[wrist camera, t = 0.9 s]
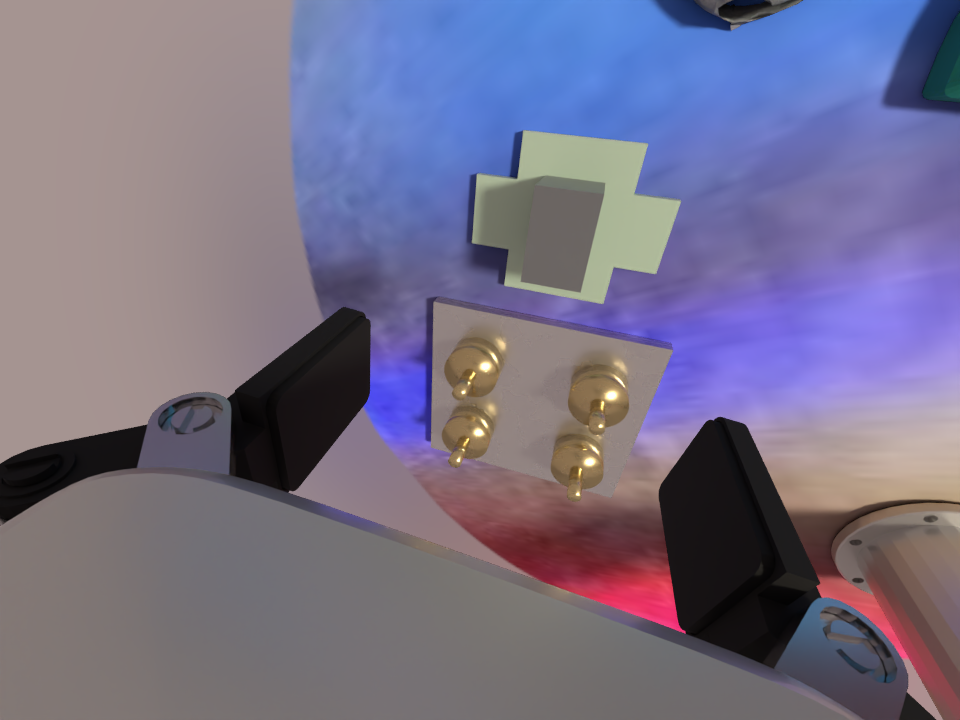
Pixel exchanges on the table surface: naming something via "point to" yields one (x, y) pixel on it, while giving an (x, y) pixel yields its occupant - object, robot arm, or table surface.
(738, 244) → the table surface
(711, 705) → the robot arm
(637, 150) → the board
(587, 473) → the chassis
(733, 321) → the table surface
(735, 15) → the electronic device
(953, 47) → the digital multimeter
